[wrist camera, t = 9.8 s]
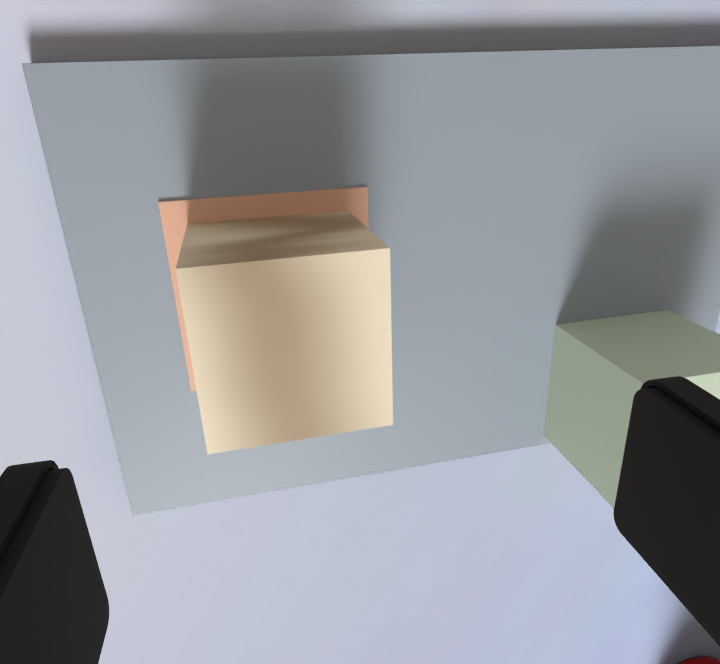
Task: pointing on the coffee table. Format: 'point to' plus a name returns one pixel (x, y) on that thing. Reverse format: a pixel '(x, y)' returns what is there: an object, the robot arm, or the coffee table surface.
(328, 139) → the board
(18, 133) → the coffee table surface
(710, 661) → the plastic cup
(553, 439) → the sage block
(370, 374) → the birch block
